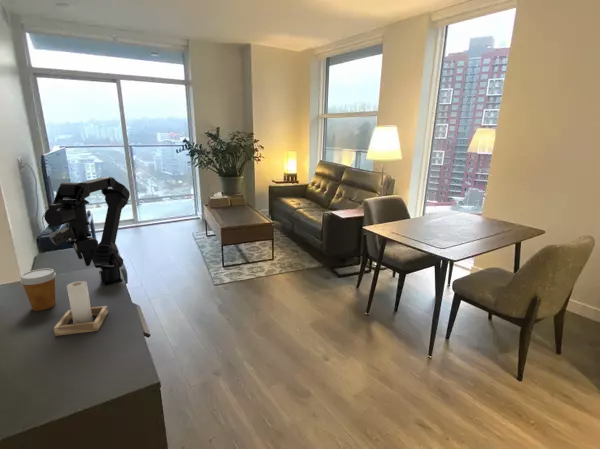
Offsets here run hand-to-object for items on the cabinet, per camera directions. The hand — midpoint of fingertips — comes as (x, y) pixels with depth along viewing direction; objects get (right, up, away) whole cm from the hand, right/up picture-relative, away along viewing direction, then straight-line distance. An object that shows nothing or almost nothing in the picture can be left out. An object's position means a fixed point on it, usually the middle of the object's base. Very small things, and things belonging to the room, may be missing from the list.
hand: (84, 262), depth 117 cm
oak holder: (+9, -17, -15) cm, 24 cm away
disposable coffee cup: (-11, -15, -4) cm, 19 cm away
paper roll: (+9, -17, -14) cm, 24 cm away
